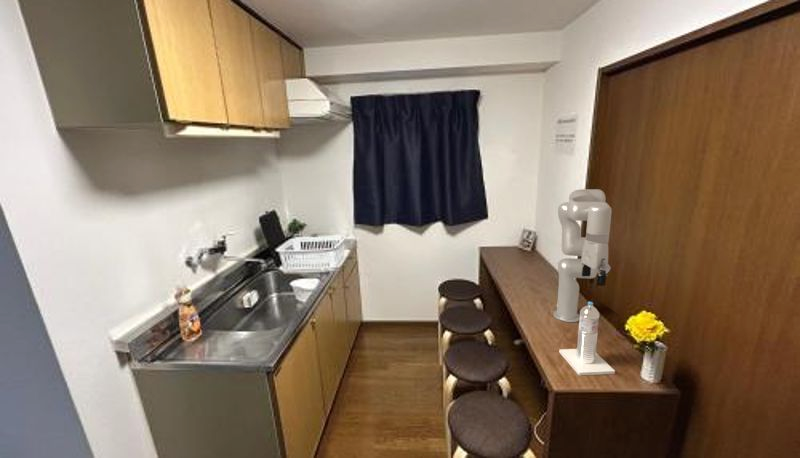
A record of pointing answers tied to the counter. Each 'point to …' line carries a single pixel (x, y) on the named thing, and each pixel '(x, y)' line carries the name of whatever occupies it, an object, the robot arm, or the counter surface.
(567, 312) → the robot arm
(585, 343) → the water bottle
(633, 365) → the counter surface
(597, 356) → the board
